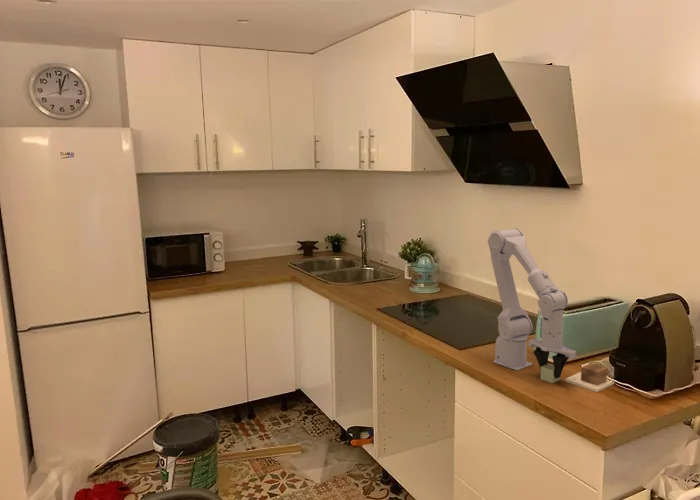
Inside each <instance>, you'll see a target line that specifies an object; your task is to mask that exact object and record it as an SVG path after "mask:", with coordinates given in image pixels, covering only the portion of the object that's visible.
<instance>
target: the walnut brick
mask: <svg viewBox="0 0 700 500" xmlns="http://www.w3.org/2000/svg"><path fill="white" fill-rule="evenodd" d="M580 368H581V369H580V372H581V380H582V381H585V382H588V383H591V384H595V385H599V384H602V383H604V382H606V381H607V378H608V375H607V374H608V368H607V367H605V366H601V365H598V364H595V363H588V364H586V365H584V366H581V367H580Z"/></svg>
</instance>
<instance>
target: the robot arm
mask: <svg viewBox="0 0 700 500" xmlns="http://www.w3.org/2000/svg"><path fill="white" fill-rule="evenodd" d="M526 243H527V237H525V235H524V233H523V231H522V230H521V229H519V228H512V229H503V230H493V231H492V232H491V233H490V234H489V237H488V239H487V244H488V248H489V253H490V259H491V264H492V269H493V273H494V278H495V282H496V285H497V290H498V295H499V299H500V303H501V307H502V311H501V312H500V314H499V315H498V316H497V322H498V326H497V329H498V334H499V336H498V337H496V339H495V345H494V346H495V347H494V355H495V357H494V360H493V363H494V364H498V365H501V366H503V367H505V368H509V369H512V370H514V371H519V370H522V369H525V368H527V367H530V366H532V365H533V363H532V362H530V361H527V352H528V351H527V348H528V347H530V348H533V347H534V348H535V349H534V350H533V354H534V356H535V359H536V360H537V362H538V366H539V370H540V372H541V366H544V365H546V364H549V363H548V361H549V356H550V353H553V354H555V355H553V356H551V358H552V362H553V365H554V377H555V378H559V377H560V378H561V375H562V372H563V370H564V367H565V365H566V363H567V361H568V360H569V359H570V360H573V359H576V357H577V356H576V355H577V353H576V352H577V351H576V350H573V349H571V348H568V347H566V346H564V345H563V326H564V325H563V324H564V321H563V319H564V310H565V309H566V308H567V306H568V305H569V298H568V296H567V294H566V292H565V291H564V290H562V289H559V288H558V287H557V286H556V285H555V283H553V281H552V280H551V278H550V277H549V273H548V272H547V271H546V270H544V269H540V268H539V267H538V264H537V263H536V261H535V259H534V257H533V255H532V254H531V251H530V249H529V248H528V247H527V244H526ZM512 256H514V257H515V259H516V260H518V263H520V264H521V266H522V267H523V270H525V272H526V273H527V274H528V277H527V282H528V284H529V285H530V286H531V288H532V289H533V291H534V292H535V294H536V296H537V298H538V300H537V305H538V307H539V309H540V315H541V340H538V339H533V338H531V339H529V336H530V334H532V331H533V328H534V326H533V323H532V320H531V318H530V317H529V314H528V312H527V311H526V310H525V309H524V308H522V307H521V306H520V301H519V296H518V292H517V287H516V284H515V280H514V276H513V271H512V267H511V263H510V259H511V257H512ZM527 344H528V345H527Z"/></svg>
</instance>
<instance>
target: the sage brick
mask: <svg viewBox="0 0 700 500" xmlns="http://www.w3.org/2000/svg"><path fill="white" fill-rule="evenodd" d="M540 380H542V381H545V382H548V383H551V384H555V383H556V382H558V381H561V376H560V377H559V378H555V377H554V364H552V363H548V364H546V365H544V366H541V371H540Z"/></svg>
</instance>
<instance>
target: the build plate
mask: <svg viewBox="0 0 700 500" xmlns="http://www.w3.org/2000/svg"><path fill="white" fill-rule="evenodd" d="M564 382H565V383H569V384H572V385H575V386H577V387H580V388H584V389H586V390H590V391H592V392H595V393H599V392H600V391H603V390H605V389H607V388H608V387H611V386H612V385H615V384H614V383H613V382H612V381H609V380H608V379H607V381H606V382H604V383H602V384H599V385H595V384H591V383H588V382H585V381H582V380H581V371H579V372H578V373H574V374H573V375H570V376H569V377H566V378H564Z"/></svg>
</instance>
